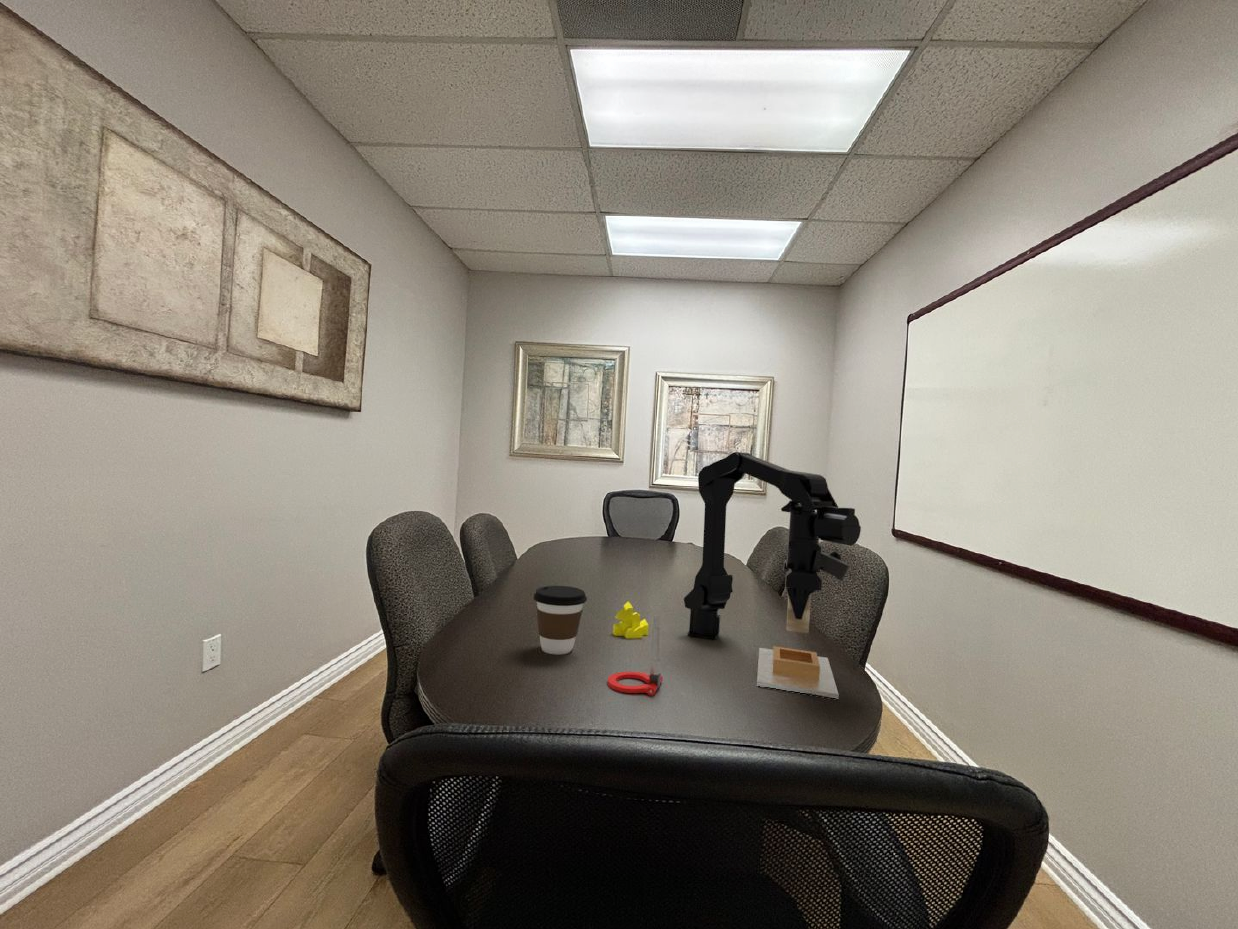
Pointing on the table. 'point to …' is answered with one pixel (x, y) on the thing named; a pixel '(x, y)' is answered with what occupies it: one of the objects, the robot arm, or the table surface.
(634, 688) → the tow hook
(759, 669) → the wooden socket on plate
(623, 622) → the yellow blocky cluster
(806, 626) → the cream upright block
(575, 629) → the coffee cup
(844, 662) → the table surface
